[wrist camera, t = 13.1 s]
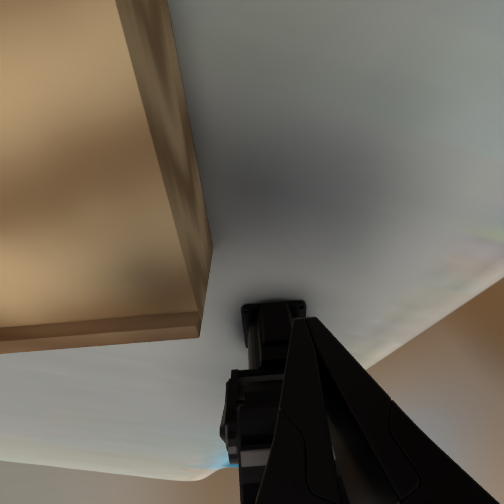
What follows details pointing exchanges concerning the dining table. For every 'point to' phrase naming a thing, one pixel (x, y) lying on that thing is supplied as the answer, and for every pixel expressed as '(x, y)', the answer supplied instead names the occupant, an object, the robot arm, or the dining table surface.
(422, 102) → the dining table surface
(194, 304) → the tan wooden box
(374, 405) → the robot arm
